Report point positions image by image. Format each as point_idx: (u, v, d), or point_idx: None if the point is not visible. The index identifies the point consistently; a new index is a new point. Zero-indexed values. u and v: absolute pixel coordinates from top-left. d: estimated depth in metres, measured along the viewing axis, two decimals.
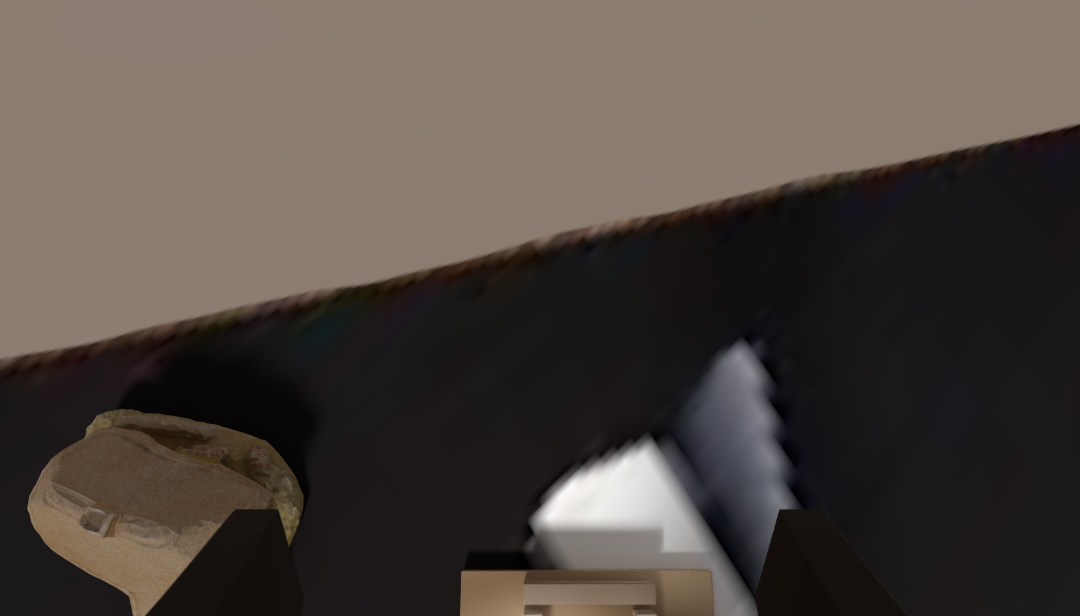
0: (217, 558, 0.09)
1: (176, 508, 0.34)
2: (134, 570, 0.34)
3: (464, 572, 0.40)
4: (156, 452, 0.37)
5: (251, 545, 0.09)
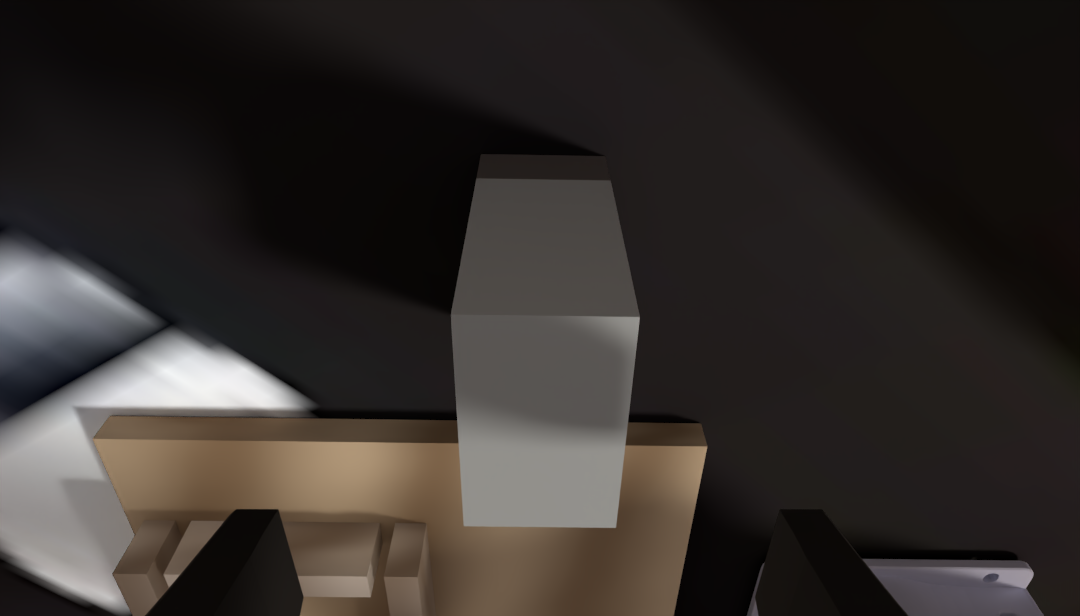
0: (217, 558, 0.09)
1: None
2: None
3: None
4: None
5: (251, 545, 0.09)
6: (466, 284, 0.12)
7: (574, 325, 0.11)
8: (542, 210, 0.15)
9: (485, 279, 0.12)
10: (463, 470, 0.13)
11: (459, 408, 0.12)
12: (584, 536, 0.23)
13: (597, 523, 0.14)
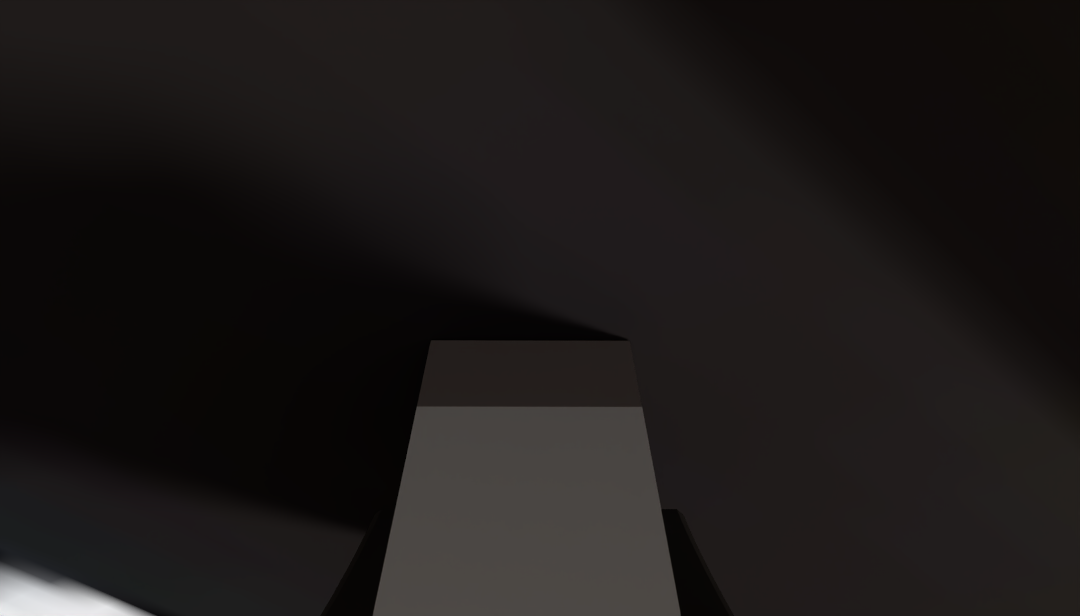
0: (379, 558, 0.09)
1: None
2: None
3: None
4: None
5: None
6: None
7: None
8: (526, 501, 0.08)
9: None
10: None
11: None
12: None
13: None
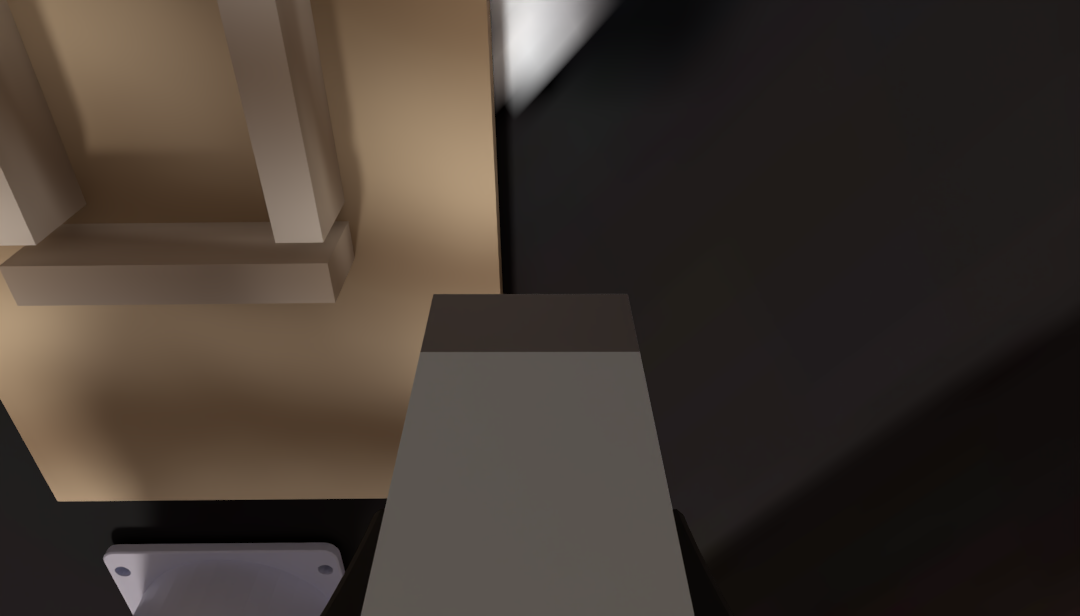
0: None
1: None
2: None
3: None
4: None
5: None
6: None
7: None
8: (527, 433, 0.08)
9: None
10: None
11: None
12: (362, 415, 0.20)
13: None
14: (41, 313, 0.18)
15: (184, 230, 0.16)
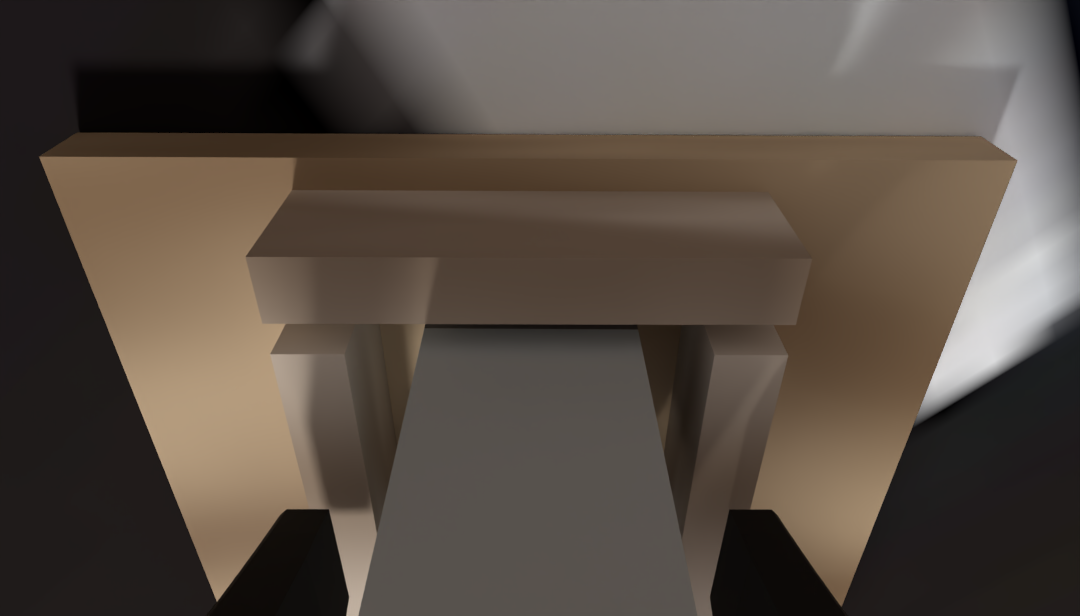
0: (273, 558, 0.09)
1: None
2: None
3: (52, 161, 0.10)
4: None
5: (306, 545, 0.09)
6: None
7: None
8: (528, 405, 0.09)
9: None
10: None
11: None
12: None
13: None
14: None
15: None
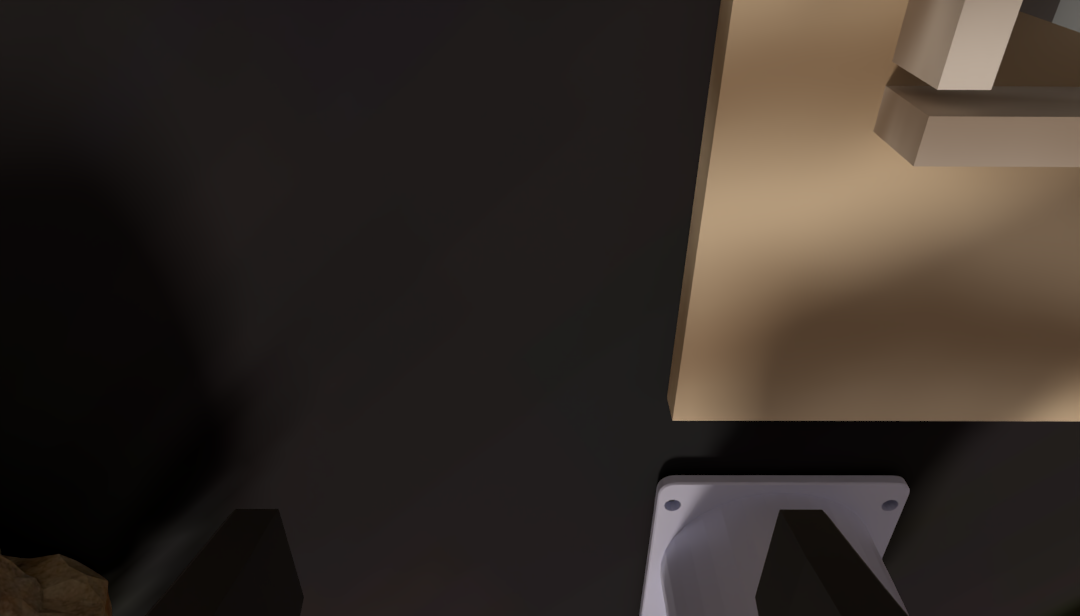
0: (217, 558, 0.09)
1: None
2: None
3: None
4: None
5: (251, 545, 0.09)
6: None
7: None
8: None
9: None
10: None
11: None
12: (1069, 323, 0.18)
13: None
14: (802, 195, 0.16)
15: (1050, 92, 0.15)
